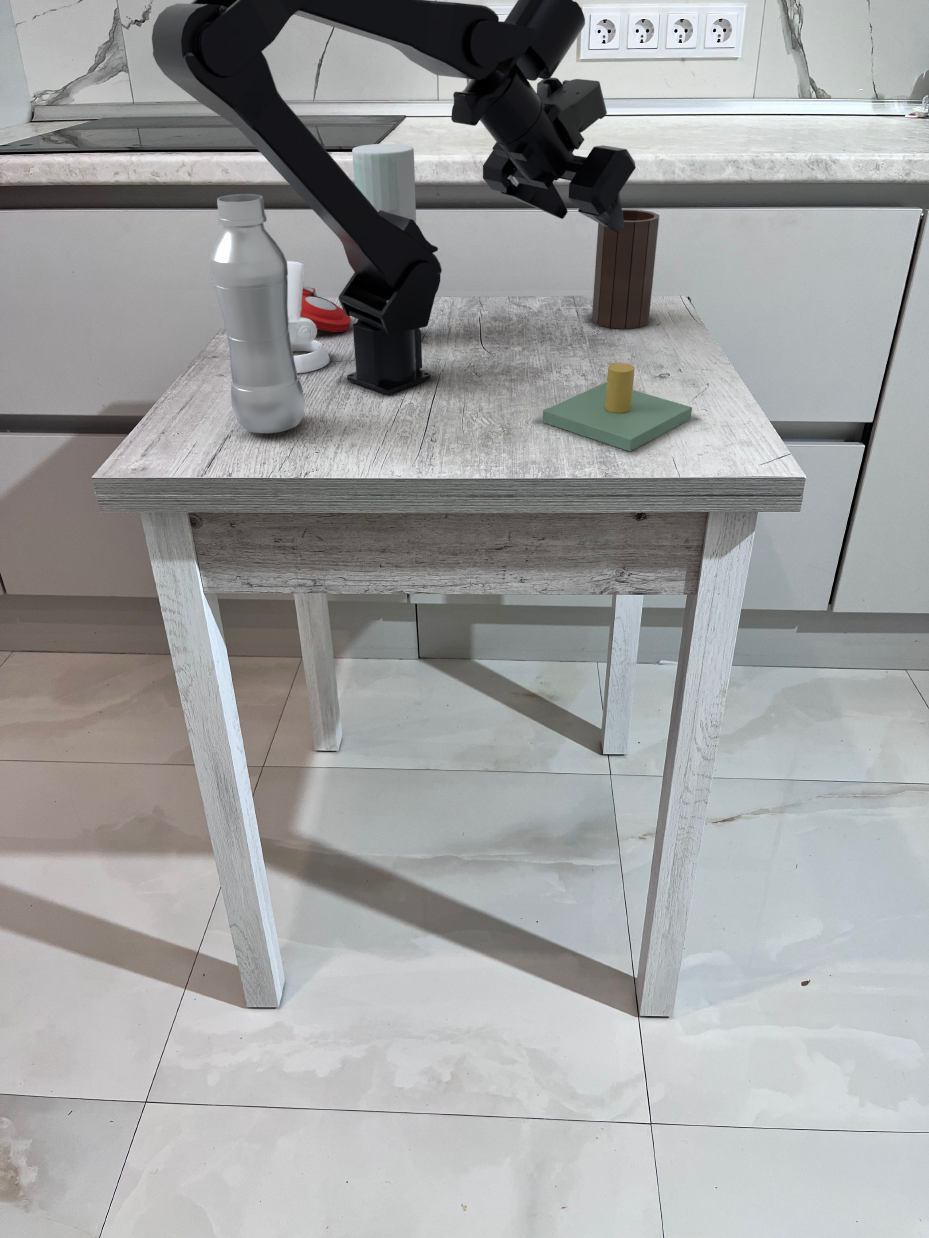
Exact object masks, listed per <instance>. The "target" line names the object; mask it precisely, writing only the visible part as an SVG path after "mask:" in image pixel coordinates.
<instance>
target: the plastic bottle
mask: <svg viewBox="0 0 929 1238" xmlns="http://www.w3.org/2000/svg"><path fill="white" fill-rule="evenodd" d="M216 200H217V201H216V205H217V213H218V216H217V221H218V222H217V223H218V224H219V225H221V226H222V230H221V232H220V235H219V237H218V239H216V242H215V244H214V246H213V248H212V251H211V253H210V255H209V261H208V262H209V263H208V271H209V275H210V280H211V281H212V286H213V289H214V292H215V295H216V299H217V301H218V305H219V309H220V312H221V315H222V320H223V324H224V329H225V331H226V338H227V342H228V343H227V344H228V349H229V363H230V364H229V365H230V374H231V384H230V405H231V406H230V407H231V409H232V412H233V414H234V417H235V420H236V422H237V423H238V424H239V425H240V426H241V427H242V428H243V429H244V430H246V431H247V432H251V433H256V434H277V433H281V432H285V431H290V430H292V429H294V428H296V427H298V425H300V423H301V421H302V419H303V418H304V415H305V408H306V407H305V406H306V398H305V397H306V396H305V393H304V388H303V386H302V382H301V380H300V377H299V375H298V373H297V371H296V366H295V361H294V357H293V356H294V351H292V347H291V342H290V334H289V328H288V325H289V321H288V308H287V307H288V277H287V275H288V267H287V261H288V260H287V257H286V256H285V254H284V251H283V249H282V248H281V246H279V244H278V242H277V241H276V240H275V239H274V238H273V237H272V235H271V234H270V233H269V232H268V231H267V229H266V228H265V225H264V223H266V222H267V214H266V213H265V204H264V197H263V195H261V194H254V193H237V194H229V195H228V194H227V195H223V196H219V197H218V198H217V199H216Z"/></svg>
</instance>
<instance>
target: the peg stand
mask: <svg viewBox="0 0 929 1238" xmlns="http://www.w3.org/2000/svg"><path fill="white" fill-rule="evenodd" d="M634 379H635V366H634V365H633V364H630V363H627V362H615V363H611V364H609V365H608V367H607V376H606V381H605V382H603V383H601V384H599V385H596V386H594V387H591V388H590V389H588V390H585V391H583V392H580V393H578V394H576V395H574V396H572V397H570V398H567V399H565V400H563V401H560V402H558V403H556V404H554V405H552V406H550V407H548V408H545V409H543V410H542V423H544V424H547V425H550V426H553V427H556V428H559V429H562V430H565V431H568V432H571V433H574V434H578V435H580V436H583V437H585V438H589V439H592V440H594V441H598V442H600V443H603V444H606V445H610V446H612V447H615V448H618V449H621V450H624V451H627V452H632V451H634V450H636V449H638V448H640V447H642V446H643V445H645V444H647V443H649V442H650V441H652V440H654V439H656V438H658V437H659V436H662V435H664V434H665V433H667V432H669V431H671V430H673V429H675V428H676V427H678V426H681V425H682V424H684V423H686V422H688V421H690V420H691V419H692V413H693V406H690V405H687V404H683V403H679V402H676V401H674V400H668V399H665V398H662V397H658V396H655V395H652V394H649V393H646V392H641V391H638V390H636V389H635V390H634V389H633V388H634V381H635V380H634Z"/></svg>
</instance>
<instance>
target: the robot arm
mask: <svg viewBox="0 0 929 1238" xmlns="http://www.w3.org/2000/svg"><path fill="white" fill-rule="evenodd" d="M294 15H295V16H298V17H301V18H304V19H307V20H310V21H313V22H317V23H320V24H323V25H326V26H329V27H333V28H336V29H339V30H342V31H345V32H347V33H348V32H349V33H351V34H355V35H358V36H360V37H363V38H367V39H370V40H374V41H377V42H380V43H382V44H385V45H388V46H391V47H392V48H394V49H395V50H398V51H399V52H401V54H402V55H404V56H405V57H406V58H407V59H408V60H409V61H411V62H413V63H414V64H416V65H418V66H420V67H421V68H423V69H425V70H426V71H428V72H430V73H431V74H433V75H436V76H438V77H449V78H458V79H467V80H469V82H468V83H467V84H466V86H465V88H464V89H463V90H462V91H454V92H453V93H452V95H453V105H452V108H451V116H450V119H451V122H452V123H454V124H461V125H466V126H473V127H476V126H477V125H478V123H479V122H481V124H482V125H483V126H484V128H485V129H486V131H487V132H488V133H489V134H490V136H491V137H492V138H493V139H494V141H495V143H494V145H493V146H492V151H491V153H490V154H489V156H488V157H487V158H486V160H485V161H484V163H483V164H482V179H483V180H484V182H485V183H486V184H487V185H488V187H489V188H490V189H491V190H492V191H496V192H500V193H501V194H502V195H503V196H507V197H509V198H512V199H514V200H516V201H519V202H520V203H524V204H526V205H527V206H531V207H533V208H535V209H538V210H540V211H542V212H545V213H547V214H549V215H552V216H554V217H556V218H558V219H561V220H563V219H565V217H566V216H567V214H568V211H569V210H568V208H567V206H566V204H565V202H564V200H563V198H562V197H561V195H560V192H559V191H558V190H557V188H556V186H555V184H554V182H555V181H558V180H565V181H570V182H569V183H568V199H569V200H570V202H571V203H572V204H573V206H575V207H576V208H577V209H578V210H577V212H578V213H580V214H581V215H583V216H585V217H587V218H588V219H591V220H592V221H594V222H596V223H597V224H598V223H600V224H601V225H603V226H605V227H607V228H609V229H611V230H613V231H615V232H617V233H620V232H621V230H622V229H623V227H624V225H625V224H624V218H623V212H622V209H623V208H622V203H621V196H620V195H621V191H622V190H623V187H624V186H625V184H627V182H628V180H629V179H630V177H631V176H632V174H633V173H634V171H635V170H636V168H637V167H636V161H635V160H634V158H633V157H632V155H631V153H630V152H629V150H628V149H627V148H623V147H622V148H621V147H615V146H609V145H595V146H593V147H592V149H591V150H590V152H589V153H588V155H587V156H582V155H576V154H574V151H575V150H579V149H580V147H581V146H582V145H583V143H584V141H585V137H584V136H583V135H582V133H583V132H584V131H586V130H587V129H588V128H589V127H591V126H592V125H593V124H595V123H596V122H597V121H598V120H602V119H604V118H605V117H606V115H607V114H608V112H607V106H606V102H605V99H604V98H605V97H604V95H603V90H602V87H601V82H600V81H599V80H593V79H582V78H574V79H571V80H567V79H565V80H564V79H563V81H561V80H560V79H559V78H558V77H552V76H553V75H554V73H555V72H556V70H558V67H559V66H560V64H561V63H562V62H563V59H564V58H565V56H566V55H567V54H568V52H569V50H570V49H571V48H572V46H573V44H574V43H575V42H576V40H577V38H578V37H579V35H580V34H581V32H582V31H583V29H584V27H585V25H586V18H585V13H584V12H583V10H582V8H581V6H580V4H579V3H578V2H577V1H574V0H517V1H516V3H515V4H514V6H513V7H512V8H511V10H510V12H509V13H508V15H507V16H506V18H505V20H504V21H502V20H501V21H500V18H499V15H498V14H497V13H496V12H495V11H494V10H493V9H492V8H490V7H488V6H486V5H483V4H475V3H474V4H473V3H464V2H454V1H452V2H451V1H440V0H192V1H191V2H190V3H174V4H172V5H169V6H167V7H166V8H164V9H163V10H162V11H161V12H160V13H158V16H157V17H156V20H155V21H154V24H153V26H152V34H151V45H152V57H153V59H154V61H155V63H156V66H158V68H159V69H160V71H161V72H162V73H163V75H165V77H167V78H168V79H169V80H170V81H171V82H172V83H173V84H175V85H176V86H178V87H179V88H181V90H182V91H184V92H185V93H187V94H188V95H190V96H191V97H192V98H193V99H195V100H196V101H197V102H198V103H200V104H201V105H203V106H205V107H206V108H208V109H209V110H210V111H212V112H214V113H215V114H217V115H219V116H220V117H221V118H223V119H225V120H226V121H227V122H229V123H230V124H232V125H233V126H235V127H236V128H237V129H238V130H239V131H240V132H241V133H242V134H243V135H244V136H245V137H246V139H248V141H249V142H250V143H251V144H252V145H253V147H255V148H256V149H257V151H259V153H260V154H261V155H262V156H263V158H265V159H266V160H267V162H268V163H269V164H270V165H271V166H272V167H273V168H274V169H275V170H276V171H277V173H278V174H279V175H280V176H281V177H282V178H283V179H284V180H285V181H286V183H288V184H289V185H290V187H291V188H292V189H293V190H294V191H295V192H296V193H297V194H298V195H299V196H300V198H301V199H302V200H303V201H304V202H305V203H306V204H307V205H308V206H309V207H310V209H311V210H312V211H313V212H314V214H316V215H317V216H318V217H319V218H320V219H321V221H323V223H324V224H325V226H327V227H328V229H330V230H331V232H332V233H333V234H334V235H335V236H336V237H337V238H338V240H340V242H341V244H342V246H343V250H344V252H345V256H346V259H347V262H348V264H349V266H350V267H351V269H352V270H353V272H354V273H353V274H352V275H351V277H350V279H348V281H347V283H346V285H345V286H344V287H343V289H342V290H341V292H340V293H339V295H338V301H339V304H340V306H341V309H343V311H344V313H345V315H347V316H350V317H352V318H354V319H356V320H357V322H355V323H352V335H353V336H352V337H353V348H354V349H353V350H354V362H355V371H354V372H351V373H349V374H347V375H346V380H347V381H348V382H350V383H353V384H356V385H358V386H359V385H360V386H362V387H365V388H368V389H371V390H373V391H377V392H378V393H381V394H385V395H390V394H393V393H396V392H399V391H401V390H404V389H407V388H409V387H412V386H415V385H418V384H420V383H422V382H425V381H428V380H431V378H432V373H431V372H428V371H425V370H422V368H423V350H422V348H423V347H422V331H421V328H426V327H428V325H429V322H430V318H431V314H432V311H433V308H434V307H433V306H434V302H435V299H436V296H437V295H436V294H437V292H438V291H439V288H440V283H441V274H442V272H443V268H442V265H441V262H440V261H439V259H438V257H437V256H436V254H435V253H436V252H438V250H439V248H438V246H435V245H433V244H431V242H430V241H428V240H427V238H426V237H425V236H424V234H423V232H422V230H421V228H420V226H419V225H418V223H417V222H416V223H415V222H414V220H412V219H409V218H406V217H402V216H399V215H396V214H392V213H389V212H385V211H382V210H379V212H378V211H377V210H376V209H375V208H374V207H373V205H372V204H371V203H370V202H369V201H368V200H367V198H366V197H365V196H364V195H363V194H362V192H361V191H360V190H359V189H358V188H357V186H356V185H355V182H353V180H352V179H351V177H349V176H348V174H346V172H345V171H344V169H342V168H341V166H340V164H338V163H337V161H336V160H335V159H334V158H333V156H332V155H331V154H330V153H329V152H328V151H327V149H326V148H325V147H324V146H323V145H322V144H321V143H320V141H319V140H318V139H317V138H316V136H314V134H313V133H312V132H311V130H310V129H309V128H308V127H307V126H306V125H305V124H304V122H303V121H302V120H301V119H300V118H299V117H298V115H297V114H296V112H295V111H293V109H292V108H291V107H290V106H289V104H288V103H287V102H286V101H285V100H284V99H283V97H282V95H281V93H280V92H279V90H278V88H277V85H276V82H275V79H274V76H273V73H272V70H271V67H270V65H269V62H268V60H267V57H266V56H265V55H264V53H263V51H265V49H266V48H268V47H269V46H270V45H271V44H272V43H273V42H275V40H276V39H277V37H278V36H279V34H280V32H281V31H282V30H283V29H284V27H285V25H286V24H287V23H288V22H289V20H290V18H292V17H293V16H294ZM538 79H541V80H540V81H538V82H537V84H536V90H535V89H534V88H533V86H532V84H531V83H530V82H529V81H531V82H534V81H537V80H538ZM387 300H388V303H387Z"/></svg>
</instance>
